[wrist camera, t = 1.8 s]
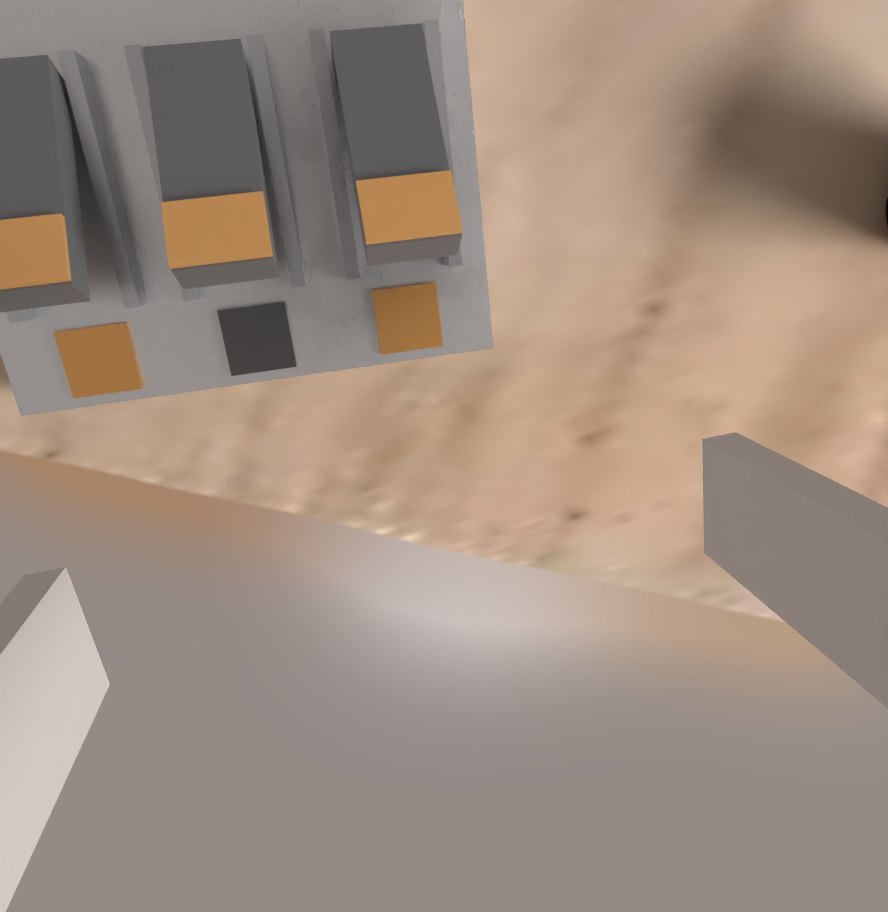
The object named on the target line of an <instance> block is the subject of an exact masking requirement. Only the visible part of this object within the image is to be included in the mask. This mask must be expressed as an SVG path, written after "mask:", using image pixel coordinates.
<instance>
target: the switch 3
mask: <svg viewBox="0 0 888 912" xmlns="http://www.w3.org/2000/svg"><path fill="white" fill-rule="evenodd" d="M330 40H331V52H332V62H333V68H334V74H335V80H336V86H337V91H338V97H339V103H340V109H341V115H342V121H343V126H344V132H345V138H346V144H347V150H348V156H349V162H350V167H351V173H352V179H353V185H354V191H355V197H356V203H357V208H358V214H359V220H360V226H361V232H362V238H363V244H364V249H365V255H366V261H367V266H373V265H381V264H389V263H397V262H404V261H412V260H420V259H428V258H436V257H444V256H452V255H457V254H458V250H459V246H460V242H461V238H462V230H463V229H462V223H461V218H460V213H459V208H458V203H457V198H456V192H455V187H454V182H453V177H452V172H451V170H449V165H448V160H447V155H446V149H445V144H444V139H443V134H442V129H441V124H440V118H439V113H438V108H437V103H436V98H435V93H434V87H433V82H432V77H431V72H430V67H429V62H428V56H427V51H426V46H425V41H424V36H423V30H422V25H421V23H420V24H408V25H396V26H384V27H372V28H361V29H349V30H337V31H330Z"/></svg>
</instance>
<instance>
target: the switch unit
mask: <svg viewBox="0 0 888 912" xmlns="http://www.w3.org/2000/svg"><path fill="white" fill-rule="evenodd" d="M420 23H421V25H422V30H423V36H424V41H425V46H426V51H427V56H428V62H429V67H430V72H431V77H432V82H433V87H434V93H435V98H436V103H437V108H438V113H439V118H440V124H441V129H442V134H443V139H444V144H445V149H446V155H447V160H448V165H449V170H451V172H452V177H453V182H454V187H455V192H456V198H457V203H458V208H459V213H460V218H461V223H462V229H463V230H462V238H461V242H460V246H459V250H458V254H457V255H452V256H444V257H436V258H428V259H420V260H412V261H404V262H397V263H389V264H381V265H373V266H367V261H366V255H365V249H364V244H363V238H362V232H361V226H360V220H359V214H358V208H357V203H356V197H355V191H354V185H353V179H352V173H351V167H350V162H349V156H348V150H347V144H346V138H345V132H344V126H343V121H342V115H341V109H340V103H339V97H338V91H337V86H336V80H335V74H334V68H333V62H332V52H331V40H330V31H337V30H349V29H361V28H372V27H384V26H396V25H408V24H420ZM229 39H241V43H242V46H243V50H244V54H245V58H246V62H247V66H248V70H249V77H250V84H251V90H252V97H253V103H254V110H255V117H256V123H257V130H258V137H259V143H260V150H261V157H262V163H263V170H264V176H265V183H266V190H267V196H268V203H269V210H270V216H271V223H272V229H273V236H274V243H275V249H276V256H277V263H278V269H279V276H280V277H278V278H270V279H262V280H254V281H246V282H238V283H230V284H222V285H214V286H206V287H198V288H190V289H183V287H182V286H181V284H180V283H179V282H178V280H177V279H176V277H175V276H174V274H173V273H172V271H171V268H170V266H169V264H168V256H167V248H166V240H165V233H164V225H163V217H162V209H161V202H163V201H162V193H161V185H160V177H159V169H158V161H157V154H156V146H155V138H154V130H153V122H152V114H151V106H150V98H149V91H148V83H147V75H146V67H145V59H144V51H143V47H146V46H158V45H170V44H182V43H194V42H205V41H217V40H229ZM39 55H48V56H49V57H50V59H51V61H52V62H53V64H54V65H55V67H56V68H57V70H58V72H59V73H60V75H61V76H62V78H63V79H64V81H65V84H66V88H67V91H68V99H69V108H70V117H71V126H72V136H73V145H74V154H75V163H76V173H77V182H78V191H79V200H80V210H81V219H82V228H83V237H84V247H85V256H86V265H87V274H88V284H89V293H90V301H87V302H80V303H72V304H64V305H56V306H48V307H40V308H32V309H24V310H16V311H8V312H0V354H1V357H2V360H3V363H4V366H5V369H6V372H7V375H8V378H9V381H10V384H11V387H12V390H13V393H14V396H15V399H16V402H17V405H18V408H19V411H20V414H21V416H24V415H31V414H38V413H45V412H52V411H59V410H66V409H73V408H80V407H87V406H93V405H100V404H107V403H114V402H121V401H128V400H135V399H142V398H149V397H156V396H163V395H170V394H177V393H184V392H191V391H198V390H205V389H212V388H219V387H225V386H232V385H239V384H246V383H253V382H260V381H267V380H274V379H281V378H288V377H295V376H302V375H309V374H316V373H323V372H330V371H337V370H344V369H351V368H357V367H364V366H371V365H378V364H385V363H392V362H399V361H406V360H413V359H420V358H427V357H434V356H441V355H448V354H455V353H462V352H469V351H476V350H483V349H490V348H493V341H492V330H491V318H490V307H489V295H488V284H487V272H486V261H485V249H484V238H483V226H482V215H481V203H480V192H479V180H478V169H477V158H476V146H475V135H474V123H473V112H472V100H471V89H470V77H469V66H468V54H467V43H466V31H465V20H464V8H463V0H0V59H3V58H15V57H27V56H39Z"/></svg>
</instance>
